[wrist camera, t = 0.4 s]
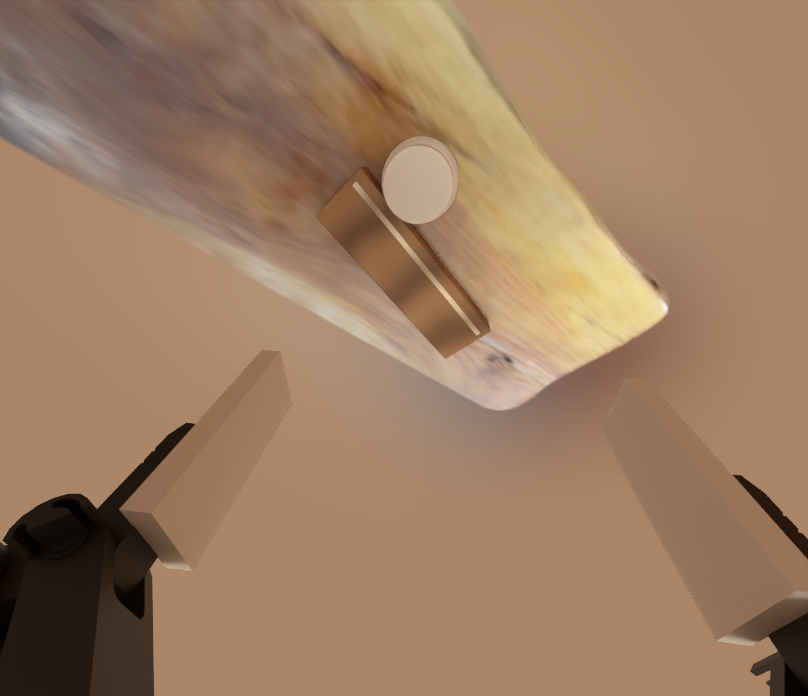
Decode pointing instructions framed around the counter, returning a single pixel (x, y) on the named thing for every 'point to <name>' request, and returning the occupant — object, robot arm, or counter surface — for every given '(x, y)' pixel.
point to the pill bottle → (420, 179)
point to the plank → (402, 264)
